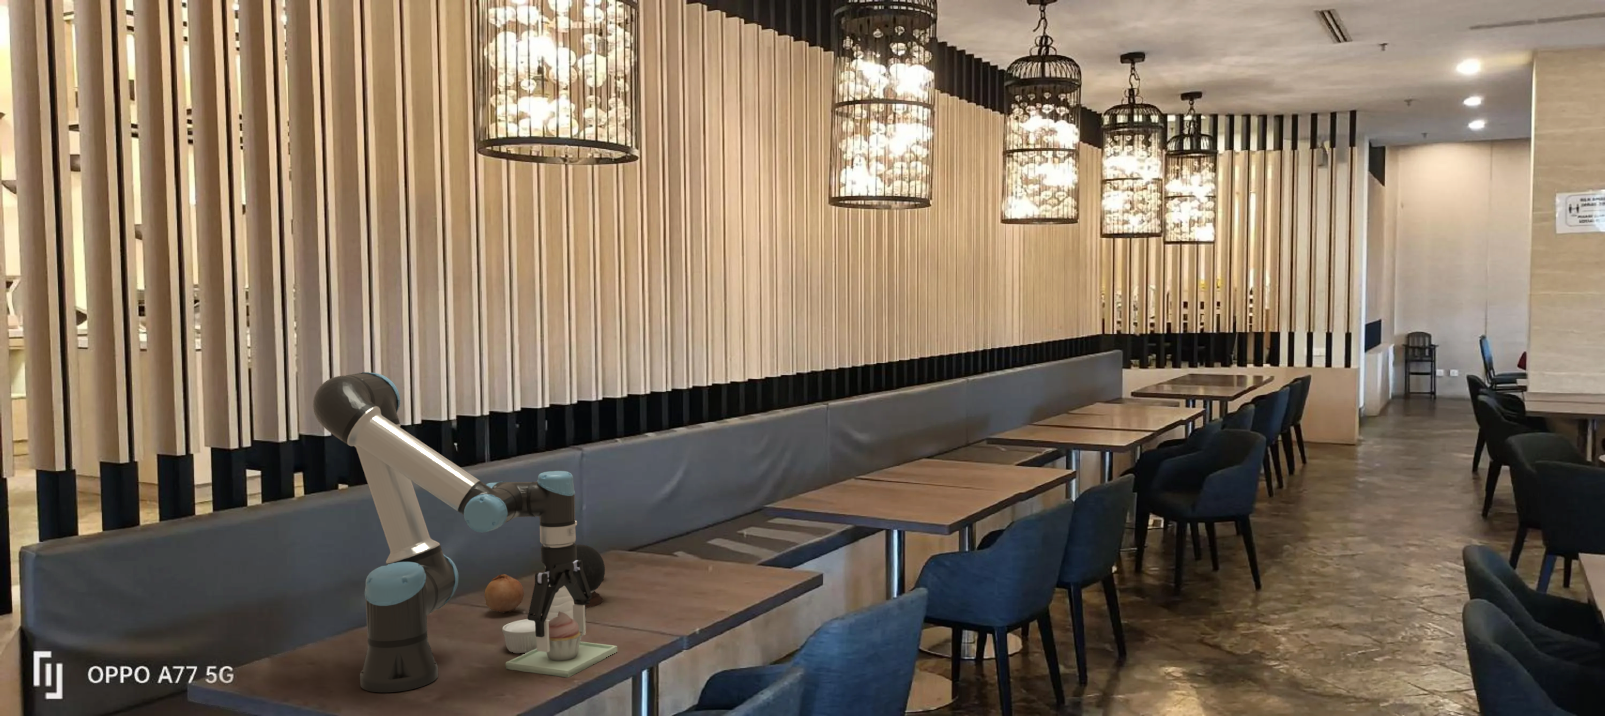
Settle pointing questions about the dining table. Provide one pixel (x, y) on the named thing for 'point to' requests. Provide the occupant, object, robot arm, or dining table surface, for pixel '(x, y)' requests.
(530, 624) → the ramekin
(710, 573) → the dining table surface
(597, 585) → the black ball on stand
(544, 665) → the tray
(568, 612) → the water bottle
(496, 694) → the dining table surface
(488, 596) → the onion
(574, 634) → the cupcake
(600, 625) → the dining table surface
